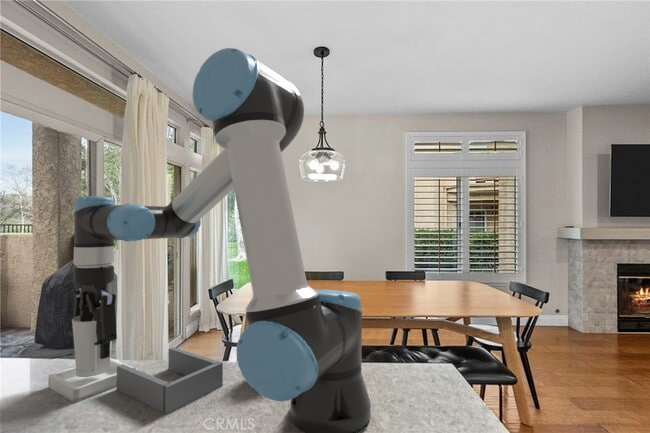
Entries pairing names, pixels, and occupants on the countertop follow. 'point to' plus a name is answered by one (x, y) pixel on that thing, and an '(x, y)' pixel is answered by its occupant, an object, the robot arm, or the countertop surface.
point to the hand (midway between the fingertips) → (93, 368)
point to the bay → (171, 396)
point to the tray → (84, 382)
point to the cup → (85, 346)
